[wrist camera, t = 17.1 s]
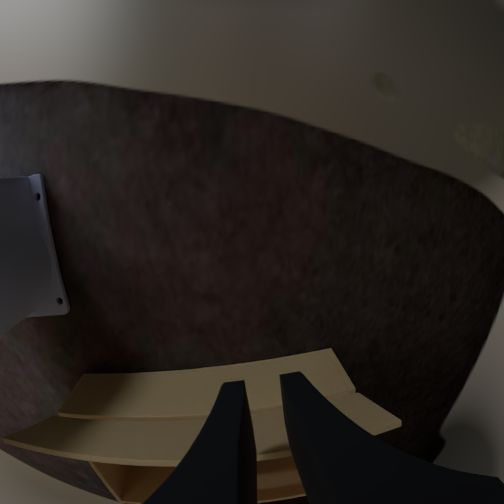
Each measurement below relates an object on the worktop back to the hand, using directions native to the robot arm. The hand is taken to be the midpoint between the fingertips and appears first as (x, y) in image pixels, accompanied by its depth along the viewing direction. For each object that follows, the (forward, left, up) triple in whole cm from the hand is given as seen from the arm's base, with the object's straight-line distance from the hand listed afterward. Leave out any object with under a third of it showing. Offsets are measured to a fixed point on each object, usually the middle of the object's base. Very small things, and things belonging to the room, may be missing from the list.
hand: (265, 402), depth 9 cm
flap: (+4, -4, -2) cm, 6 cm away
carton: (+11, -4, -10) cm, 15 cm away
